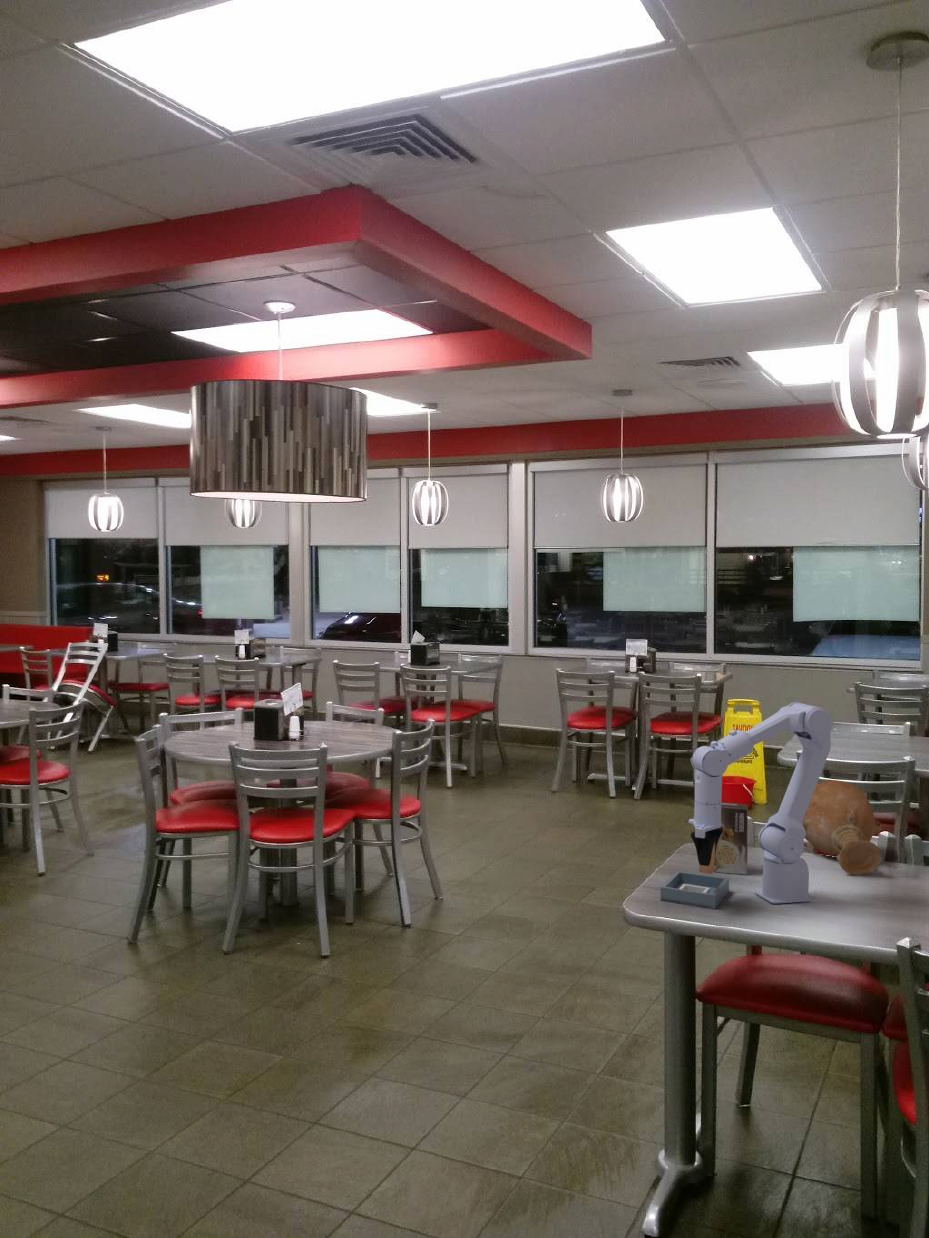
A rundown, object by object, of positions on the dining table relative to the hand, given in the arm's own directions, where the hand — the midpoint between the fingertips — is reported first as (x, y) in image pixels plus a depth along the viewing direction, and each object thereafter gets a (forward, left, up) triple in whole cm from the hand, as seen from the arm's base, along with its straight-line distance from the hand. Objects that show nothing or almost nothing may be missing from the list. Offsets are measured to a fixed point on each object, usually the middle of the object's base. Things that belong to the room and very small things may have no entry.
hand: (706, 862), depth 226 cm
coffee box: (-17, -22, -9) cm, 29 cm away
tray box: (0, -5, -9) cm, 10 cm away
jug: (-49, -24, -9) cm, 56 cm away
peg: (0, 0, -2) cm, 2 cm away
